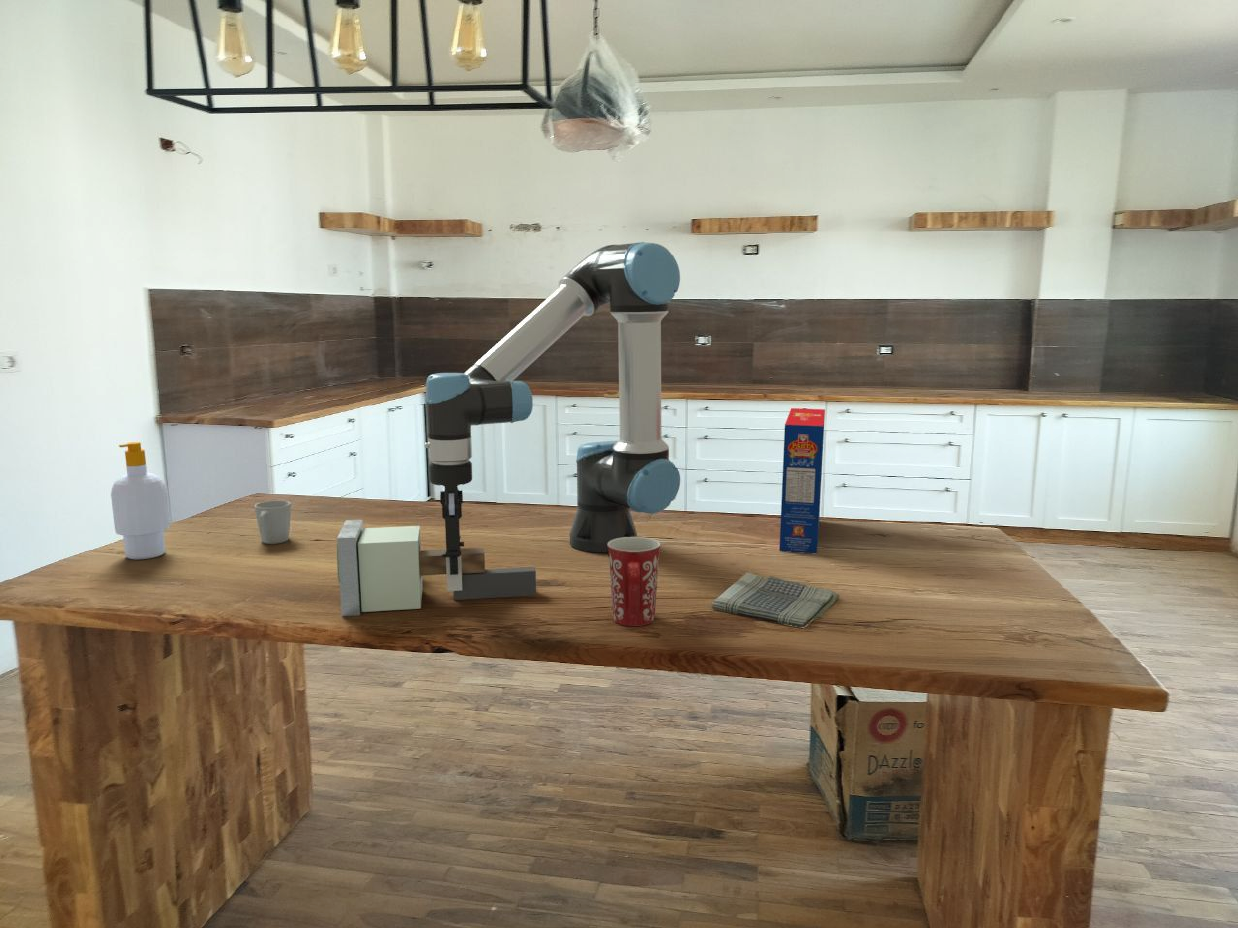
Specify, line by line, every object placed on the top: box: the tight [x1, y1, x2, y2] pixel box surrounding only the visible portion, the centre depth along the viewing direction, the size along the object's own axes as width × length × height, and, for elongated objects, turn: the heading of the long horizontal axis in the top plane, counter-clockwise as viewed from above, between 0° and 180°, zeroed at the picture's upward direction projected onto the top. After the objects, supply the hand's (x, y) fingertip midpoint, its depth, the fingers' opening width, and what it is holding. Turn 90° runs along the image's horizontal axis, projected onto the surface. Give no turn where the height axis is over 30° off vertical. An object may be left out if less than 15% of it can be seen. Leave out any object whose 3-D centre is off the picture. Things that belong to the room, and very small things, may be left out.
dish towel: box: [711, 572, 840, 628], centre depth 155 cm, size 19×18×3 cm
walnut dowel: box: [419, 546, 486, 577], centre depth 155 cm, size 16×4×4 cm, turn 101°
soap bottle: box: [110, 441, 171, 560], centre depth 179 cm, size 10×10×24 cm
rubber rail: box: [452, 566, 537, 601], centre depth 158 cm, size 15×2×5 cm, turn 101°
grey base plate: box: [336, 519, 364, 617], centre depth 152 cm, size 3×12×14 cm, turn 11°
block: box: [358, 525, 423, 613], centre depth 153 cm, size 10×10×12 cm
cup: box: [254, 499, 292, 545], centre depth 190 cm, size 8×10×8 cm
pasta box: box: [779, 407, 826, 554], centre depth 196 cm, size 28×8×28 cm, turn 166°
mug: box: [607, 536, 662, 627], centre depth 144 cm, size 13×9×14 cm
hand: (454, 585), depth 156 cm, fingers closed on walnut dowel, 4 cm apart
